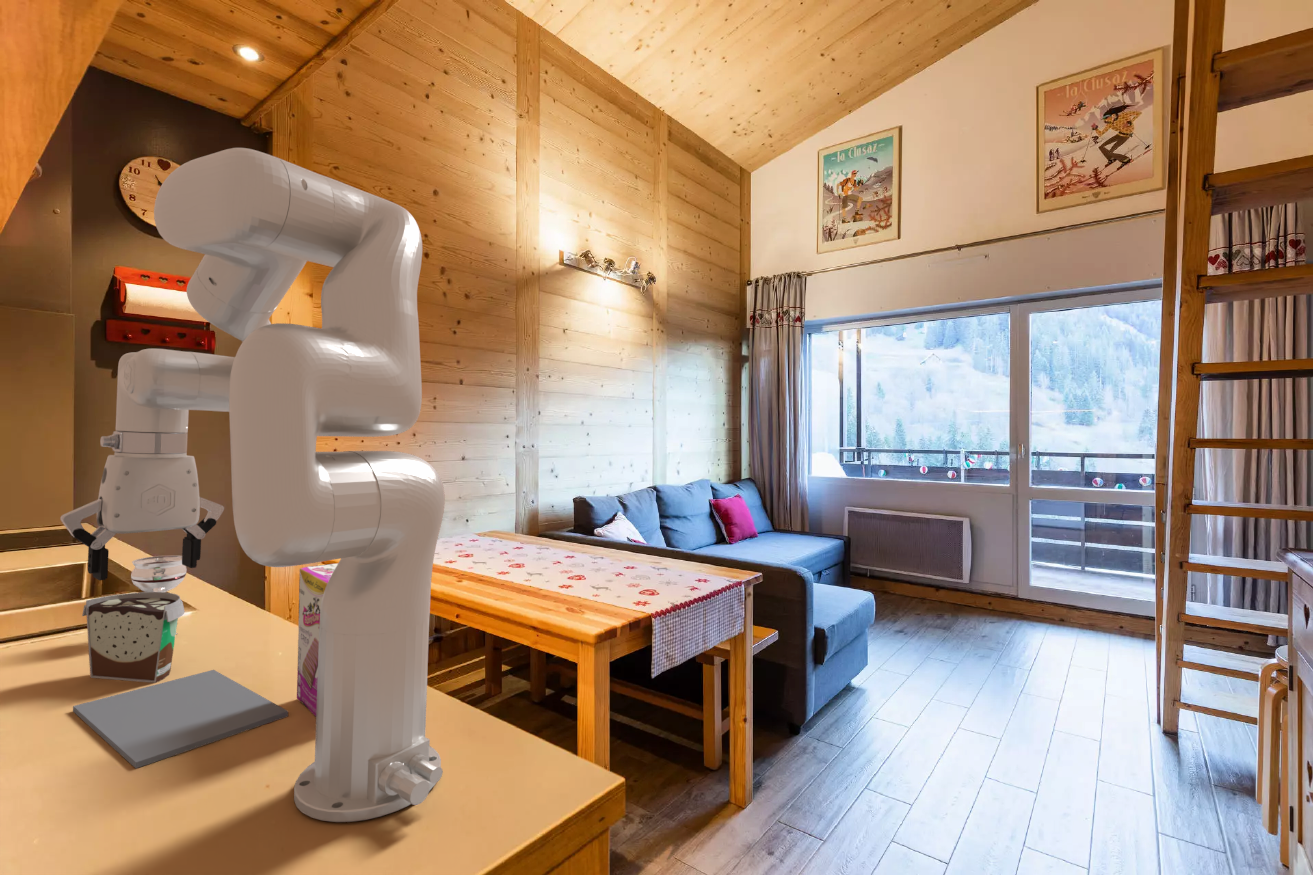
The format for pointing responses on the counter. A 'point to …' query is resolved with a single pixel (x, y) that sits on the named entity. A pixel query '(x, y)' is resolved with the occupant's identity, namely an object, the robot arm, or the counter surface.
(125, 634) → the food container
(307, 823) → the counter surface
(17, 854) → the counter surface
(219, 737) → the mat
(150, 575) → the wineglass
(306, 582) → the candy bar box
